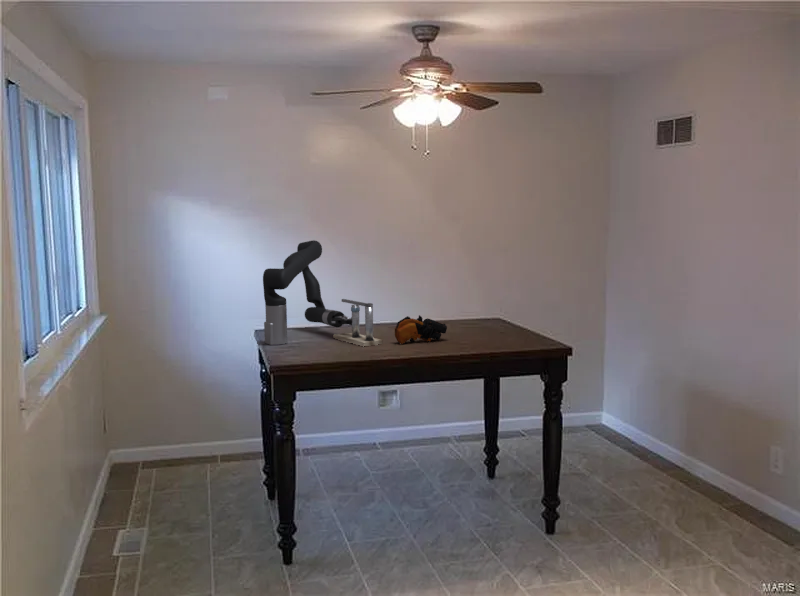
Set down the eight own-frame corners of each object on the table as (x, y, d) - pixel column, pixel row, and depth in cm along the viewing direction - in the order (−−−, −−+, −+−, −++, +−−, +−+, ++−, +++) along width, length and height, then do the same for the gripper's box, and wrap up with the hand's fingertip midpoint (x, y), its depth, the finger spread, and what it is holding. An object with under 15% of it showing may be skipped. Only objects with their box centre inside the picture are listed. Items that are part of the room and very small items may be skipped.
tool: (438, 358, 340) (450, 326, 340) (394, 342, 332) (406, 309, 332) (432, 354, 348) (443, 323, 348) (388, 339, 340) (400, 307, 339)
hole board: (363, 347, 329) (363, 342, 329) (333, 338, 349) (333, 334, 349) (382, 344, 335) (382, 339, 335) (351, 336, 355) (351, 332, 355)
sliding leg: (354, 337, 340) (354, 306, 338) (349, 335, 343) (349, 305, 342) (361, 336, 343) (361, 305, 341) (357, 335, 346) (356, 304, 344)
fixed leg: (368, 341, 332) (367, 304, 330) (340, 333, 351) (339, 298, 348) (374, 340, 334) (374, 303, 332) (346, 333, 353) (345, 298, 350)
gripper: (320, 311, 353) (340, 316, 339) (345, 309, 361) (365, 313, 347) (321, 327, 354) (341, 332, 340) (345, 324, 362) (365, 329, 348)
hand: (353, 322), depth 344 cm, fingers closed
